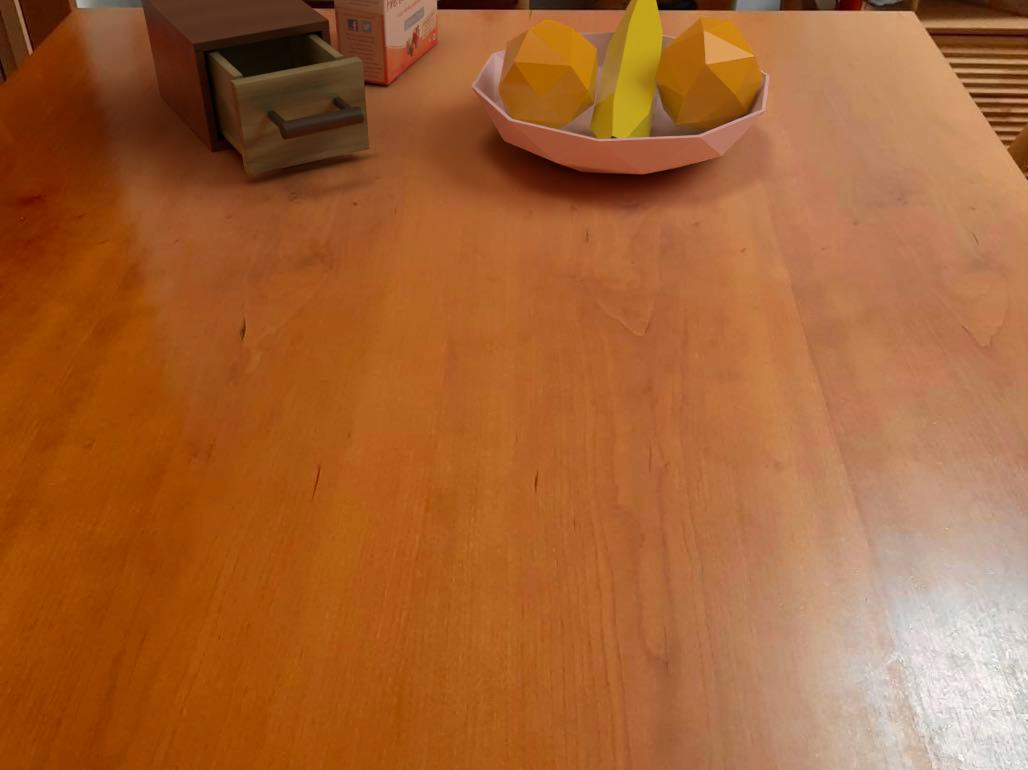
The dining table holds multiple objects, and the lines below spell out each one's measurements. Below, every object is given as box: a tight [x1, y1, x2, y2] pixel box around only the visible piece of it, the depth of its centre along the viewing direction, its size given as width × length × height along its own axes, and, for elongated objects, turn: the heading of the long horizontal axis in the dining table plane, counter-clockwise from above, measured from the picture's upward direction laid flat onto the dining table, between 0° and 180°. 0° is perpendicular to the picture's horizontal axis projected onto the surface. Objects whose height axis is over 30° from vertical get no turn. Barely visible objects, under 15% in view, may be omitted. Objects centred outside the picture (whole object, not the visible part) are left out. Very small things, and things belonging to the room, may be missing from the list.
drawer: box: [204, 32, 370, 176], centre depth 103 cm, size 19×11×8 cm, turn 30°
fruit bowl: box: [470, 0, 771, 175], centre depth 105 cm, size 28×27×11 cm
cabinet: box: [141, 0, 332, 152], centre depth 110 cm, size 16×13×10 cm
